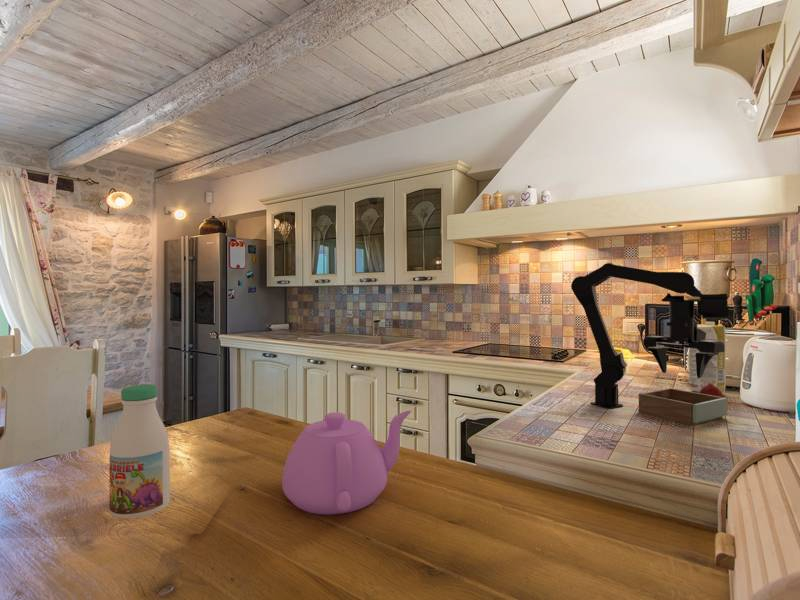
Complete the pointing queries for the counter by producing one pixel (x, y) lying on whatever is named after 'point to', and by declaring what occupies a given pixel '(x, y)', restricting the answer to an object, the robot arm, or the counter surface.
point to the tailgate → (709, 410)
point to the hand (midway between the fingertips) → (681, 375)
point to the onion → (711, 390)
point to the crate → (673, 404)
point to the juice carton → (716, 364)
